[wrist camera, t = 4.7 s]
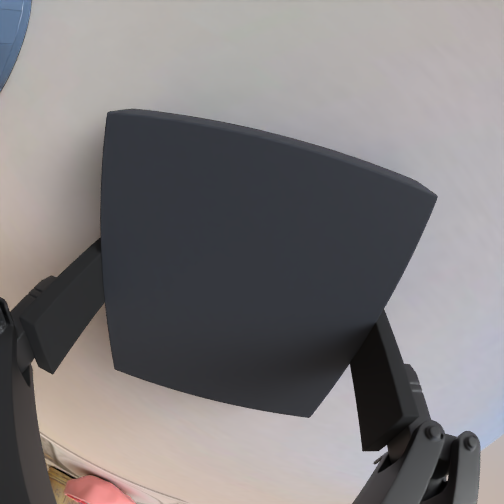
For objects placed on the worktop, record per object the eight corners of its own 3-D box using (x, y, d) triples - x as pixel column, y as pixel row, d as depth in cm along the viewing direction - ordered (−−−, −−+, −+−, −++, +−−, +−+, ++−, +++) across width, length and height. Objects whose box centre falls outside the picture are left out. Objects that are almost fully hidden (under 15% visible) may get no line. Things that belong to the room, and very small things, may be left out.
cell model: (148, 490, 39) (134, 536, 29) (144, 502, 48) (133, 537, 38) (67, 454, 37) (48, 497, 27) (80, 475, 47) (67, 508, 37)
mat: (132, 108, 10) (106, 111, 9) (417, 181, 11) (438, 196, 9) (126, 347, 17) (114, 369, 15) (309, 392, 17) (309, 418, 15)
